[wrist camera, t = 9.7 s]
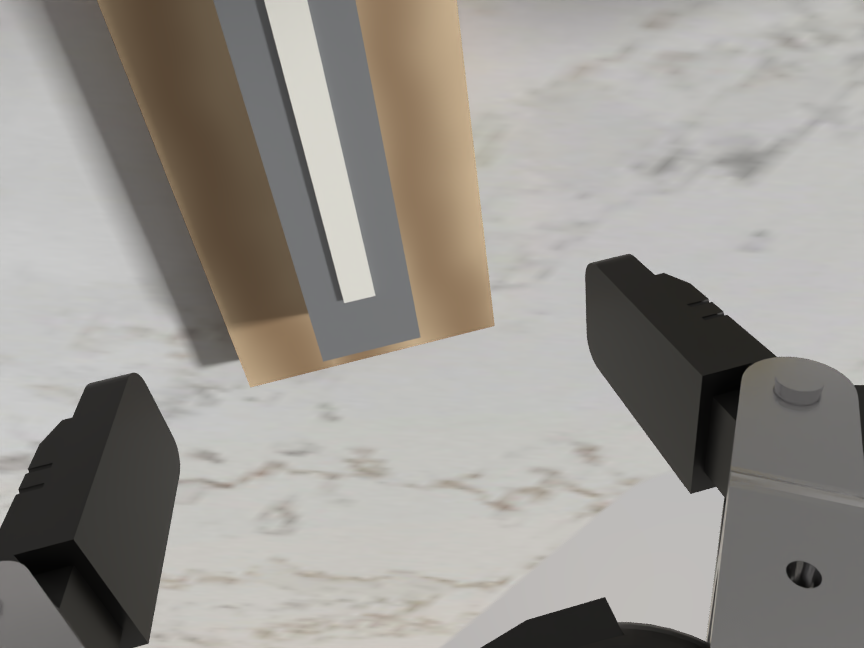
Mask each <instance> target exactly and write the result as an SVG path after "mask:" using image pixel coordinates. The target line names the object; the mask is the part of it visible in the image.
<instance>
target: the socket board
mask: <svg viewBox="0 0 864 648" xmlns="http://www.w3.org/2000/svg"><path fill="white" fill-rule="evenodd" d="M355 1H356V6H357V11H358V16H359V21H360V26H361V32H362V37H363V42H364V47H365V52H366V57H367V63H368V68H369V73H370V78H371V83H372V88H373V94H374V99H375V104H376V109H377V114H378V119H379V125H380V130H381V135H382V140H383V145H384V150H385V156H386V161H387V166H388V171H389V176H390V181H391V187H392V192H393V197H394V202H395V207H396V212H397V218H398V223H399V228H400V233H401V238H402V243H403V249H404V254H405V259H406V264H407V269H408V274H409V280H410V285H411V290H412V295H413V300H414V305H415V311H416V316H417V321H418V326H419V331H420V336H421V337H420V338H416V339H412V340H408V341H404V342H400V343H396V344H392V345H388V346H384V347H380V348H376V349H372V350H368V351H364V352H360V353H356V354H352V355H348V356H344V357H340V358H336V359H332V360H328V361H324V362H323V360H322V356H321V353H320V350H319V346H318V343H317V340H316V337H315V333H314V330H313V327H312V323H311V320H310V317H309V314H308V310H307V307H306V304H305V300H304V297H303V294H302V291H301V287H300V284H299V281H298V277H297V274H296V271H295V268H294V264H293V261H292V258H291V254H290V251H289V248H288V245H287V241H286V238H285V235H284V231H283V228H282V225H281V221H280V218H279V215H278V212H277V208H276V205H275V202H274V198H273V195H272V192H271V189H270V185H269V182H268V179H267V175H266V172H265V169H264V166H263V162H262V159H261V156H260V152H259V149H258V146H257V143H256V139H255V136H254V133H253V129H252V126H251V123H250V120H249V116H248V113H247V110H246V106H245V103H244V100H243V97H242V93H241V90H240V87H239V83H238V80H237V77H236V74H235V70H234V67H233V64H232V60H231V57H230V54H229V51H228V47H227V44H226V41H225V37H224V34H223V31H222V28H221V24H220V21H219V18H218V14H217V11H216V8H215V5H214V1H213V0H97V2H98V4H99V7H100V9H101V12H102V14H103V17H104V19H105V22H106V24H107V27H108V29H109V32H110V34H111V37H112V39H113V42H114V44H115V47H116V49H117V52H118V54H119V57H120V60H121V62H122V65H123V67H124V70H125V72H126V75H127V77H128V80H129V82H130V85H131V87H132V90H133V92H134V95H135V97H136V100H137V102H138V105H139V107H140V110H141V112H142V115H143V118H144V120H145V123H146V125H147V128H148V130H149V133H150V135H151V138H152V140H153V143H154V145H155V148H156V150H157V153H158V155H159V158H160V160H161V163H162V165H163V168H164V171H165V173H166V176H167V178H168V181H169V183H170V186H171V188H172V191H173V193H174V196H175V198H176V201H177V203H178V206H179V208H180V211H181V213H182V216H183V218H184V221H185V223H186V226H187V229H188V231H189V234H190V236H191V239H192V241H193V244H194V246H195V249H196V251H197V254H198V256H199V259H200V261H201V264H202V266H203V269H204V271H205V274H206V276H207V279H208V281H209V284H210V287H211V289H212V292H213V294H214V297H215V299H216V302H217V304H218V307H219V309H220V312H221V314H222V317H223V319H224V322H225V324H226V327H227V329H228V332H229V334H230V337H231V340H232V342H233V345H234V347H235V350H236V352H237V355H238V357H239V360H240V362H241V365H242V367H243V370H244V372H245V375H246V377H247V380H248V382H249V385H250V387H254V386H258V385H262V384H266V383H270V382H273V381H277V380H281V379H285V378H289V377H293V376H297V375H301V374H305V373H309V372H313V371H317V370H321V369H325V368H329V367H333V366H337V365H341V364H345V363H349V362H353V361H357V360H361V359H365V358H369V357H373V356H377V355H381V354H385V353H389V352H393V351H397V350H401V349H404V348H408V347H412V346H416V345H420V344H424V343H428V342H432V341H436V340H440V339H444V338H448V337H452V336H456V335H460V334H464V333H468V332H472V331H476V330H480V329H484V328H488V327H492V326H494V317H493V309H492V300H491V291H490V283H489V274H488V266H487V257H486V248H485V240H484V231H483V223H482V214H481V205H480V197H479V188H478V180H477V171H476V163H475V154H474V145H473V137H472V128H471V120H470V111H469V102H468V94H467V85H466V77H465V68H464V60H463V51H462V42H461V34H460V25H459V17H458V8H457V0H355Z"/></svg>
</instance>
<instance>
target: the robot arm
mask: <svg viewBox="0 0 864 648" xmlns="http://www.w3.org/2000/svg"><path fill="white" fill-rule="evenodd" d="M585 283H586V323H587V340H588V345H589V349H590V353H591V355H592V358H593V360H594V362H595V364H596V366H597V368H598V369H599V370H600V372H601V373H602V374H603V376H604V377H605V378H606V380H607V381H608V383H609V384H610V385H611V387H612V388H613V389H614V391H615V392H616V393H617V395H618V396H619V397H620V399H621V400H622V402H623V403H624V404H625V406H626V407H627V408H628V410H629V411H630V412H631V414H632V415H633V416H634V418H635V419H636V421H637V422H638V423H639V425H640V426H641V427H642V429H643V430H644V431H645V433H646V434H647V435H648V437H649V438H650V440H651V441H652V442H653V444H654V445H655V446H656V448H657V449H658V450H659V452H660V453H661V454H662V456H663V457H664V459H665V460H666V461H667V463H668V464H669V465H670V467H671V468H672V469H673V471H674V472H675V473H676V475H677V476H678V478H679V479H680V480H681V482H682V483H683V484H684V486H685V487H686V488H687V489H688V491H689V492H690V494H692V493H695V492H699V491H702V490H706V489H710V488H713V487H717V488H718V490H719V491H720V492H721V493H722V495H723V496H724V497H725V498H724V504H723V511H722V519H721V527H720V536H719V543H718V551H717V560H716V568H715V575H714V584H713V592H712V599H711V607H710V615H709V622H708V630H707V637H706V642H705V641H703V640H701V639H699V638H697V637H694V636H692V635H689V634H686V633H682V632H680V631H676V630H674V629H670V628H665V627H660V626H656V625H651V624H642V623H631V622H617V621H616V618H615V616H614V614H613V612H612V610H611V608H610V606H609V604H608V603H607V600H606V598H605V597H604V598H601V599H597V600H594V601H590V602H587V603H584V604H580V605H577V606H573V607H570V608H566V609H563V610H560V611H556V612H553V613H549V614H546V615H543V616H539V617H536V618H532V619H529V620H526V621H524V622H523V623H521V624H519V625H518V626H516V627H515V628H513V629H511V630H509V631H508V632H507V633H504V634H503V635H501V636H500V637H498V638H496V639H495V640H493V641H491V642H490V643H488V644H486V645H485V646H483V647H481V648H864V385H853V384H852V382H851V381H850V380H849V379H848V378H847V377H846V376H844V375H843V374H842V373H840V372H839V371H837V370H835V369H834V368H832V367H829V366H827V365H825V364H822V363H819V362H817V361H813V360H809V359H804V358H797V357H776V356H775V355H774V354H773V353H772V352H771V351H769V350H768V349H767V348H766V347H765V346H763V345H762V344H761V343H760V342H759V341H758V340H756V339H755V338H754V337H753V336H752V335H750V334H749V333H748V332H747V331H746V330H745V329H743V328H742V327H741V326H740V325H739V324H737V323H736V322H735V321H734V320H733V319H732V318H730V317H729V316H728V315H724V313H723V311H722V310H721V309H720V308H719V307H717V306H716V305H715V304H714V303H713V302H710V303H709V299H708V298H707V297H706V296H704V295H703V294H702V293H701V292H700V291H699V290H697V289H696V288H695V287H694V286H693V285H691V284H690V283H688V282H685V281H683V280H680V279H678V278H675V277H673V276H670V275H668V274H665V273H662V274H658V275H654V274H653V273H652V272H651V271H650V270H649V269H647V268H646V267H645V266H644V265H643V264H642V263H641V262H640V261H639V260H638V259H636V258H635V257H634V256H633V255H631V254H626V255H622V256H618V257H613V258H609V259H605V260H601V261H597V262H593V263H590V264H588V266H587V268H586V274H585ZM28 470H29V473H27V474H25V476H24V479H23V481H22V483H21V485H20V487H19V489H18V490H19V494H17V495H16V496H15V498H14V500H13V502H12V504H11V506H10V508H9V511H8V513H7V515H6V517H5V519H4V521H3V523H2V525H1V528H0V648H134V647H138V646H141V645H145V644H148V643H149V638H150V633H151V627H152V622H153V616H154V611H155V605H156V600H157V594H158V589H159V584H160V578H161V573H162V567H163V562H164V556H165V551H166V545H167V540H168V535H169V529H170V524H171V518H172V513H173V507H174V502H175V496H176V491H177V486H178V480H179V474H180V460H179V453H178V449H177V445H176V443H175V440H174V438H173V436H172V434H171V432H170V430H169V428H168V426H167V424H166V422H165V420H164V418H163V416H162V414H161V412H160V410H159V408H158V406H157V404H156V403H155V401H154V399H153V397H152V395H151V393H150V391H149V389H148V387H147V385H146V383H145V382H144V380H143V379H142V377H141V376H140V375H139V374H137V373H130V374H126V375H122V376H118V377H114V378H110V379H105V380H101V381H97V382H93V383H90V384H88V385H87V386H86V387H85V389H84V392H83V394H82V396H81V399H80V401H79V403H78V406H77V408H76V410H75V413H74V415H73V417H72V418H69V419H65V420H62V421H61V422H60V423H59V424H58V425H57V426H56V427H55V428H54V429H53V431H52V432H51V433H50V434H49V435H48V436H47V437H46V438H45V439H44V440H43V441H42V442H41V443H40V444H39V447H38V449H37V451H36V453H35V455H34V457H33V459H32V462H31V464H30V466H29V468H28Z"/></svg>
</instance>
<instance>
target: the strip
mask: <svg viewBox="0 0 864 648" xmlns="http://www.w3.org/2000/svg"><path fill="white" fill-rule="evenodd" d="M213 1H214V5H215V8H216V11H217V14H218V18H219V21H220V24H221V28H222V31H223V34H224V37H225V41H226V44H227V47H228V51H229V54H230V57H231V60H232V64H233V67H234V70H235V74H236V77H237V80H238V83H239V87H240V90H241V93H242V97H243V100H244V103H245V106H246V110H247V113H248V116H249V120H250V123H251V126H252V129H253V133H254V136H255V139H256V143H257V146H258V149H259V152H260V156H261V159H262V162H263V166H264V169H265V172H266V175H267V179H268V182H269V185H270V189H271V192H272V195H273V198H274V202H275V205H276V208H277V212H278V215H279V218H280V221H281V225H282V228H283V231H284V235H285V238H286V241H287V245H288V248H289V251H290V254H291V258H292V261H293V264H294V268H295V271H296V274H297V277H298V281H299V284H300V287H301V291H302V294H303V297H304V300H305V304H306V307H307V310H308V314H309V317H310V320H311V323H312V327H313V330H314V333H315V337H316V340H317V343H318V346H319V350H320V353H321V356H322V360H323V362H324V361H328V360H332V359H336V358H340V357H344V356H348V355H352V354H356V353H360V352H364V351H368V350H372V349H376V348H380V347H384V346H388V345H392V344H396V343H400V342H404V341H408V340H412V339H416V338H420V337H421V336H420V331H419V326H418V321H417V316H416V311H415V305H414V300H413V295H412V290H411V285H410V280H409V274H408V269H407V264H406V259H405V254H404V249H403V243H402V238H401V233H400V228H399V223H398V218H397V212H396V207H395V202H394V197H393V192H392V187H391V181H390V176H389V171H388V166H387V161H386V156H385V150H384V145H383V140H382V135H381V130H380V125H379V119H378V114H377V109H376V104H375V99H374V94H373V88H372V83H371V78H370V73H369V68H368V63H367V57H366V52H365V47H364V42H363V37H362V32H361V26H360V21H359V16H358V11H357V6H356V1H355V0H213Z"/></svg>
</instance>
